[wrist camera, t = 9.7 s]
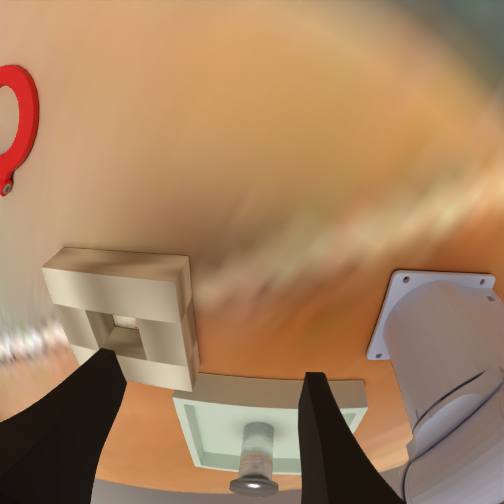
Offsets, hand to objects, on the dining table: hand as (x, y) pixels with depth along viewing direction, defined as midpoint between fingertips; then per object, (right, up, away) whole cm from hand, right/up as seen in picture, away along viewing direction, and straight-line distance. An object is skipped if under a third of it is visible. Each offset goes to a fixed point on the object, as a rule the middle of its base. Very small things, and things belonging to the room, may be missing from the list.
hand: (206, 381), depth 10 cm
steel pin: (+2, -13, +16) cm, 20 cm away
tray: (+3, -13, +17) cm, 21 cm away
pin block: (-7, 0, +11) cm, 13 cm away
